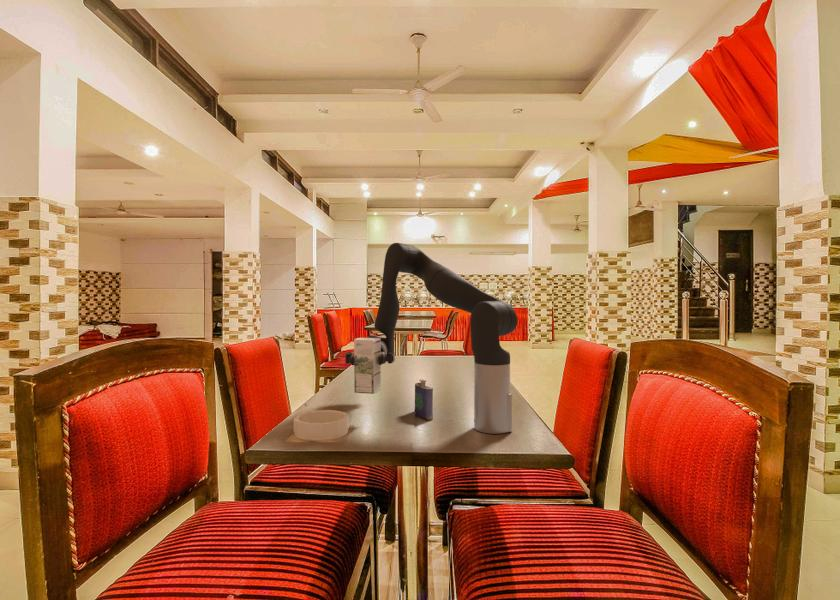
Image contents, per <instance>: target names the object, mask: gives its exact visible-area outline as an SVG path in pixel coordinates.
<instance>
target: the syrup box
mask: <svg viewBox="0 0 840 600" xmlns="http://www.w3.org/2000/svg"><path fill="white" fill-rule="evenodd" d="M353 354H354V365H353V369H354V371H353V375H354V377H353V379H354V380H353V381H354V382H353V383H354V384H353V385H354V389H353V390H354V393H356V394H370V395H373V394H377V393H379V392H380V391H381V389H382V381H381V380H382V377H381V375H382V374H381V373H382V371H381V366H382V365H379V356H380V355H381V339H380V338H367V337H357V338H354V339H353Z"/></svg>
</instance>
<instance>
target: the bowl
mask: <svg viewBox="0 0 840 600" xmlns="http://www.w3.org/2000/svg"><path fill="white" fill-rule="evenodd" d="M349 425H350V414H349V413H347V412H345V411H342V410H335V409H334V410H333V409H332V410H331V409H325V410H324V409H323V410H322V409H321V410H312V411H306V412H302V413H299V414H297V415H296V416H295V417H294V418H293V433H295V437H296V438H298V439H300V440H305V441H328V440H334V439H338V438H341V437H344V436H345V435H347V434H348V429H349Z"/></svg>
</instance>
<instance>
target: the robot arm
mask: <svg viewBox="0 0 840 600" xmlns="http://www.w3.org/2000/svg"><path fill="white" fill-rule="evenodd" d="M383 263H384V264H383V273H382V281H381V282H382V283H381V291H380V292H381V293H380V300H379V305H378V309H377V313H376V317H375V320H374V321H375V322H374V325H373V327H374V329H375V330H377V331H378V332H380V333H381V334H383V335H384V336H385V337H381V336H378V335H373V334H371V335H370V334H369V336H367V337H366V338H380V339H381V355H380V356H379V365H381V366H382V365H385V364H386V363H387V364H393V363H394V362H395V359H396V357H395V356H396V354H395V333H396V331H395V330H396V326H397V322H398V318H399V315H400V306H401V305H400V301H399V296H398V292H397V280H398V276H399V273H403V274H411V275H413V276H415V277H417V278H418V279H421V280H422V281H423V283H424V285H425V289H426V290H427V291H428V293H429V294H430V295H432V296H433V297H434V298H435V299H437V300H438V301H440V302H441V303H443V304H445V305H447V306H450V307H452V308H455V309H458V310H462V311H464V312H467V313H469V314H470V318H469V319H470V325H469V327H470V328H469V329H470V343H471V344H470V346H471V347H470V348H471V352H472V355H473V358H474V359H473V361H474V363H473V364H474V365H473V367H474V369H473V370H474V371H473V374H474V376H473V377H474V379H473V381H474V383H473V384H474V385H473V387H474V388H473V390H474V391H473V395H474V396H473V401H474V402H473V403H474V404H473V405H474V406H473V409H474V411H473V416H474V418H473V423H474V424H473V428H474V430H476V431H477V432H481V433H484V434H491V435H492V434H495V435H496V434H505V433H511V432H512V433H513V395H512V393H511V354H510V352H509V351H508V350H506V349H504V348H503V347H502V346H501V343H500V337H502V336H503V337H504V336H507V335H510V334H511V333H513V332H514V331H515V329H517V326H518V315H517V312H516V310H515V309H514V307H513V306H512V305H511V304H510V303H508V302H506V301H505V300H502V299H500V298H498V297H495V296H493V295H491V294H489V293H486V292H485V291H483V290H482V289H480V288H479V287H477V286H476V285H474V284H473V283H471V282H469V281H468V280H466V279H465V278H463V277H462V276H461V275H459V274H457V273H456V272H454V271H453V270H451V269H450V268H448V267H446V266H444V265H442V263H441V264H440V263H439V262H437V261H435V260H433V259H432V258H431V257H430V256H429V255H427V254H426V253H425V252H424V251H422V250H421V249H420V248H419V247H417V246H415V245H411V244H407V243H400V242H393V243H391V244H390V245H389V246H388V248H387V250H386V253H385V257H384V262H383ZM344 358H345V359H344V360H345V361H344V362H345V364H346V365H348V364H350V365H351V366H354V352H351V351H347V352H346V353H345V357H344Z"/></svg>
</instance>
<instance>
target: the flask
mask: <svg viewBox="0 0 840 600" xmlns="http://www.w3.org/2000/svg"><path fill="white" fill-rule="evenodd" d="M426 382H427V380H426V379H421V378H420V379H419V382H416V383H414V410H413V413H414V414H415V416H416V417H417V416H418V418H419V417H420V418H419V419H421V418H422V420H423V419H425V420H424V421H427V420H430V421H433V420H434V418H433V417H434V412H433V409H434V408H433V407H434V406H433V399H434V393H433V392H434V389H433V387H430V386H427V385H426Z"/></svg>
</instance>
